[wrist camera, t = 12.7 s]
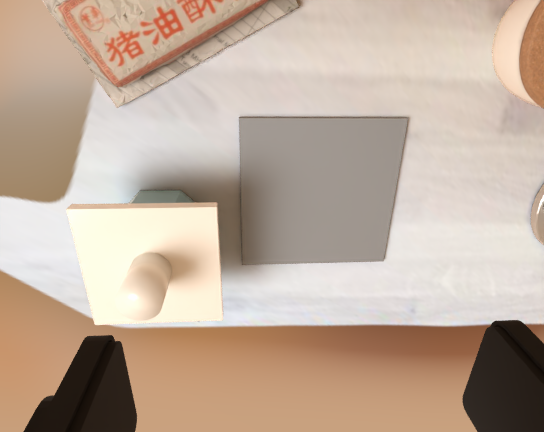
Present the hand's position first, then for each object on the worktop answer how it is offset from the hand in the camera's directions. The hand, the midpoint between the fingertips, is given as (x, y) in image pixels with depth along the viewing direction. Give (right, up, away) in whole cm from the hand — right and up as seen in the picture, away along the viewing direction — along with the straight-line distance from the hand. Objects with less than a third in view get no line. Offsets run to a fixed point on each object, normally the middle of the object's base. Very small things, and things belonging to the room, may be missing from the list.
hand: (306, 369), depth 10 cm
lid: (-12, 0, +24) cm, 27 cm away
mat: (+4, +6, +29) cm, 30 cm away
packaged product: (-9, +22, +21) cm, 32 cm away
